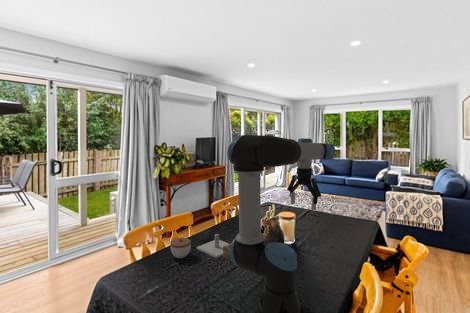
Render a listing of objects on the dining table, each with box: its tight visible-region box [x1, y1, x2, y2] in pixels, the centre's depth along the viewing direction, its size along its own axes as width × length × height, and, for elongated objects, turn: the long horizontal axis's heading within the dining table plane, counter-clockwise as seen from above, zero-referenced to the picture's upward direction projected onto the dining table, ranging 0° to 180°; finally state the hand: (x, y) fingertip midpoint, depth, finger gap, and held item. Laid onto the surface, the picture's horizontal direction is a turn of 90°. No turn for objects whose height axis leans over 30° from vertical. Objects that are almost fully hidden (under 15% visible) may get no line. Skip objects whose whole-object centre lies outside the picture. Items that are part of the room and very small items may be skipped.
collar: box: [222, 242, 233, 263], centre depth 139 cm, size 8×8×6 cm
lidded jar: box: [169, 237, 192, 259], centre depth 140 cm, size 11×11×9 cm
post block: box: [196, 233, 230, 259], centre depth 149 cm, size 16×16×8 cm
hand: (302, 206), depth 141 cm, fingers open, 13 cm apart
